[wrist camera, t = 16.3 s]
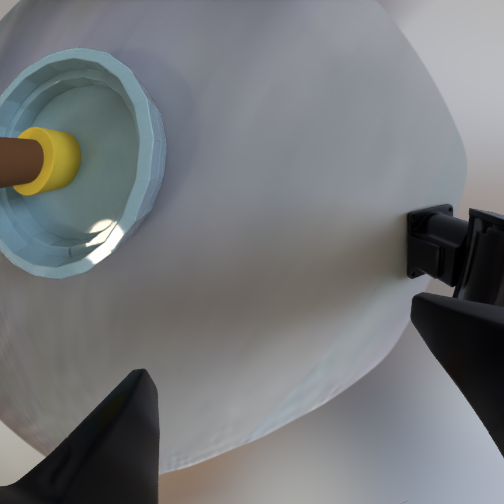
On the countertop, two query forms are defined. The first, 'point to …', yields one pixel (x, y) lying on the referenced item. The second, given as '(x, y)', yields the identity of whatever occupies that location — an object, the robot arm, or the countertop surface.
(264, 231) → the countertop surface
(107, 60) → the bowl
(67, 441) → the robot arm
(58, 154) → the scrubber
